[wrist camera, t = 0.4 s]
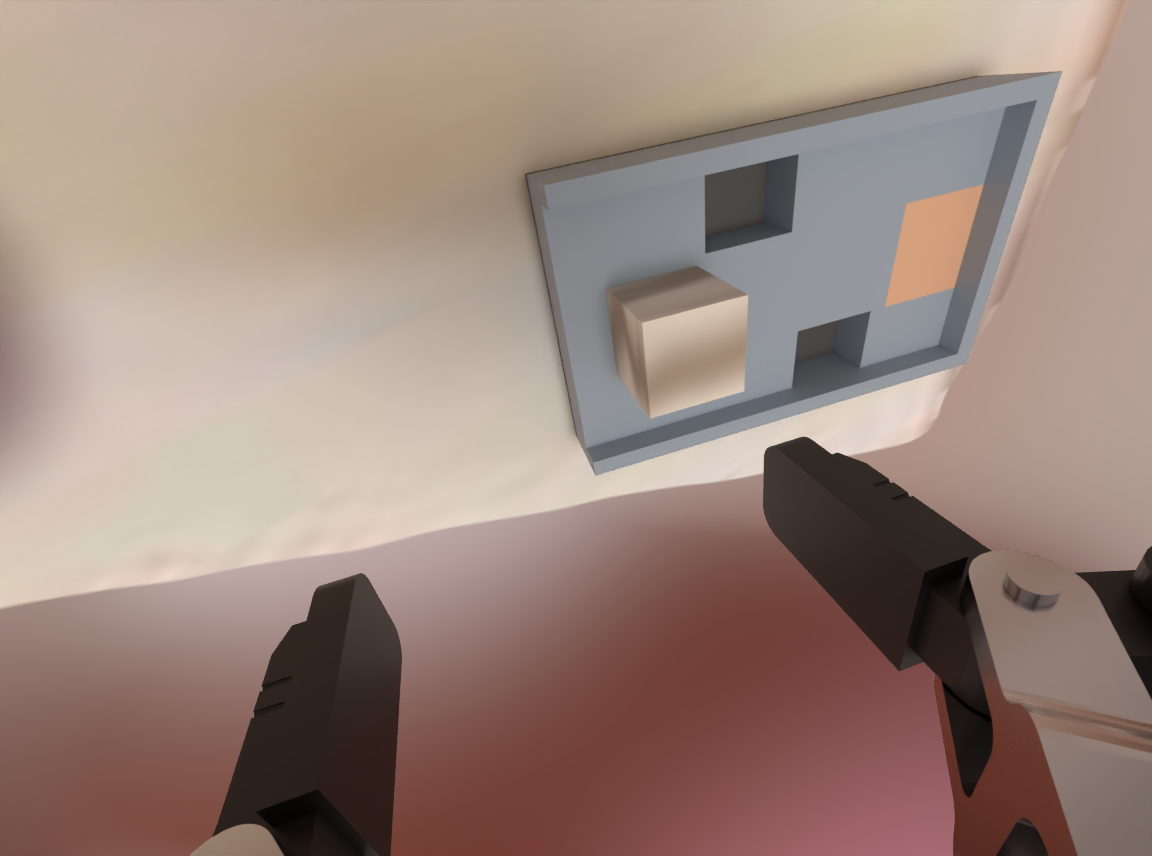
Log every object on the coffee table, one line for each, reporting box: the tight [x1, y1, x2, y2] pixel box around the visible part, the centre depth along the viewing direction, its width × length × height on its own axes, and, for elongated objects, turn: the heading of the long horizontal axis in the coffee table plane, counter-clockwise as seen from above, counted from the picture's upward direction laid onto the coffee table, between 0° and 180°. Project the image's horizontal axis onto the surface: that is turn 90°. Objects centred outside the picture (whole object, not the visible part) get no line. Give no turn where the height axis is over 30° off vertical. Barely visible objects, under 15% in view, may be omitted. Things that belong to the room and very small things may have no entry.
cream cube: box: [606, 266, 748, 419], centre depth 25 cm, size 5×5×5 cm
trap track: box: [525, 71, 1062, 475], centre depth 29 cm, size 16×26×4 cm, turn 100°
